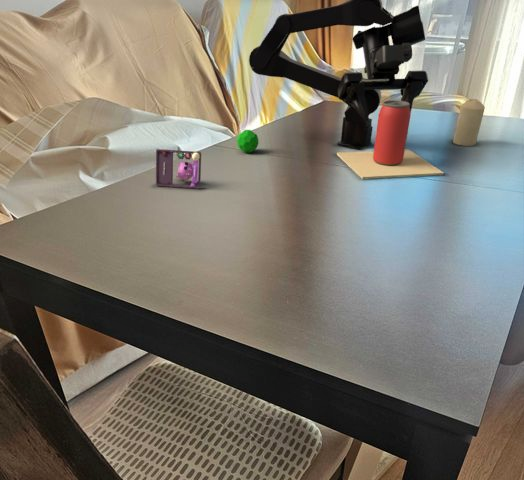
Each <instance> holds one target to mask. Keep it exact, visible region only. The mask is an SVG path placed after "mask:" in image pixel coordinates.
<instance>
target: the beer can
mask: <svg viewBox="0 0 524 480" xmlns="http://www.w3.org/2000/svg"><path fill="white" fill-rule="evenodd" d="M409 105H410V104H409V103H408V102H404V101H401V100H385V101H382V106H381V107H380V109H379V112H378V117H377V123H376V132H375V139H374V146H373V151H374V153H373V160H374V161H375V162H376V163H378V164H381V165H398V164H400V163H401V162H402V161H403V157H404V151H405V150H406V146H407V139H408V134H409V129H410V127H409V126H410V121H411V115H412V113H411V114H410V107H409Z"/></svg>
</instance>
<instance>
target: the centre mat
mask: <svg viewBox="0 0 524 480" xmlns="http://www.w3.org/2000/svg"><path fill="white" fill-rule="evenodd" d="M373 153H374V150H371V151H370V150H369V151H368V150H367V151H347V152H336V156H337V157H338V158H340V160H341V161H343V162H344V163H345V164H346V165H347V166H348V167H349V168H350V169H351V170H352V171H353V172H354V173H355V174H356V175H357V176H358V177H359V178H360V179H362V180H377V179H392V178H395V179H396V178H413V177H431V176H432V177H433V176H444V174H445V172H444V171H442V170H440V169H439V168H438V167H436V166H435V165H433V164H431V163H430V162H429V161H427V160H426V159H424V158H423V157H421V155H418V154H417V153H415V152H414V151H412V150H410V149H405V151H404V157H403V161H402V162H401V163H400V164H398V165H381V164H378V163H376V162H375V161H374V160H373Z"/></svg>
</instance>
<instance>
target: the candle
mask: <svg viewBox="0 0 524 480" xmlns="http://www.w3.org/2000/svg"><path fill="white" fill-rule="evenodd" d="M485 109H486V107H485V104H483V102H481V101H480V100H479V99H478V98H470V99H467V100H465V102H463V103H462V104H461V105H460V109H459V113H458V117H457V122H456V127H455V131H454V136H453V139H452V140H453V142H452V143H453V144H455V145H458V146H463V147H464V146H465V147H470V146H471V147H472V146H476V144H477V141H478V138H479V137H478V136H479V133H480V128H481V125H482V121H483V118H484V117H483V116H484V112H485Z"/></svg>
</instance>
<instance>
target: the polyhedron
mask: <svg viewBox="0 0 524 480" xmlns="http://www.w3.org/2000/svg"><path fill="white" fill-rule="evenodd" d="M236 144H237V147H238V149H240V150H241V151H242V152H243V153H245V154H250V153H252V152H253V151H255V150H256V149H257V148H258V146H259V136H258V135H257V134H256V132H254V131H252V130H251V129H244V130H242V132H240V133H239V134H238V135H237V137H236Z"/></svg>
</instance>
